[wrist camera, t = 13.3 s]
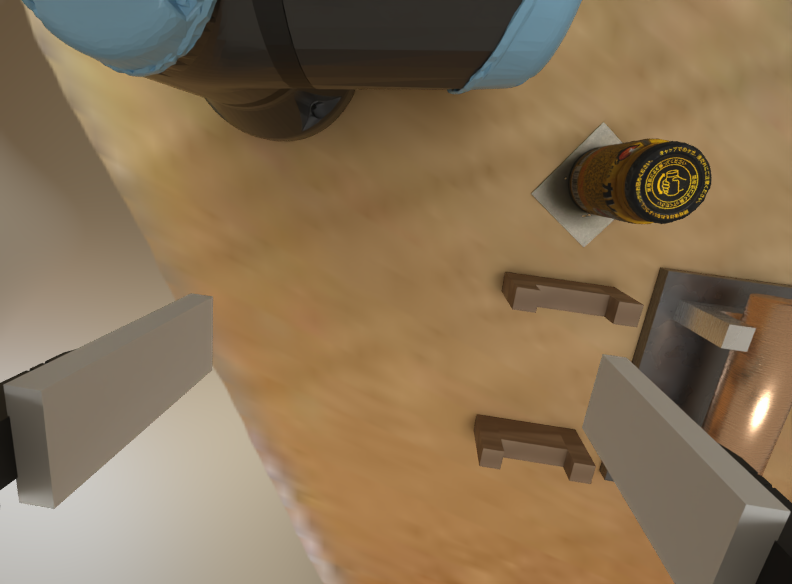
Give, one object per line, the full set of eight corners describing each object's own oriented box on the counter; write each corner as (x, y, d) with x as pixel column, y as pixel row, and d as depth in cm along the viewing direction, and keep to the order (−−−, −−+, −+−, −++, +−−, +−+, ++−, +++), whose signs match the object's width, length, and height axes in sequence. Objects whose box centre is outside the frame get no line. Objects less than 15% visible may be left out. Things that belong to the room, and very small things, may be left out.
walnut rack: (505, 271, 42) (517, 287, 36) (614, 287, 42) (643, 305, 36) (473, 430, 47) (479, 465, 41) (570, 445, 46) (590, 484, 41)
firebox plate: (660, 267, 41) (717, 290, 33) (812, 288, 40) (909, 317, 32) (599, 470, 47) (634, 532, 39) (730, 491, 46) (793, 559, 38)
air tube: (732, 289, 37) (781, 308, 32) (795, 298, 37) (854, 318, 32) (658, 499, 43) (689, 543, 38) (712, 507, 43) (750, 552, 38)
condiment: (656, 180, 39) (750, 181, 27) (583, 247, 41) (641, 274, 29) (602, 122, 38) (676, 98, 26) (530, 193, 40) (570, 200, 29)
